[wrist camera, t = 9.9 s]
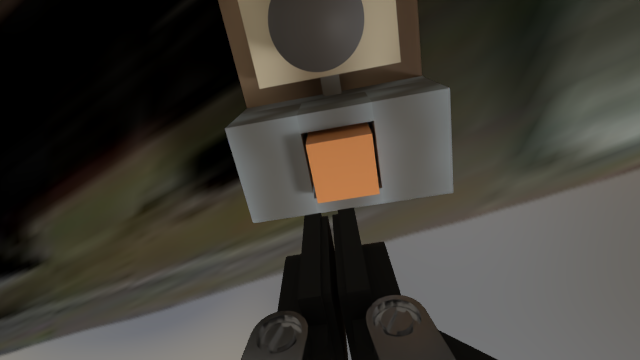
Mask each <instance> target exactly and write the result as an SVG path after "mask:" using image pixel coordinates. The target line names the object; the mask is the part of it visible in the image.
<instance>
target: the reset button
mask: <svg viewBox="0 0 640 360" xmlns="http://www.w3.org/2000/svg"><path fill="white" fill-rule="evenodd" d="M306 149H307V154H308V159H309V164H310V168H311V173H312V178H313V183H314V187H315V192H316V197H317V202H318V203H325V202H331V201H337V200H344V199H350V198H357V197H363V196H370V195H376V194H380V192H379V184H378V176H377V168H376V161H375V153H374V145H373V137H372V132H371V130H370V128H369V126H368V124H367V122H364V123H358V124H352V125H347V126H341V127H335V128H330V129H324V130H318V131H312V132H308V136H307V141H306Z"/></svg>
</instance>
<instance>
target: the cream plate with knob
mask: <svg viewBox="0 0 640 360" xmlns="http://www.w3.org/2000/svg"><path fill="white" fill-rule="evenodd" d="M238 4H239V8H240V12H241V16H242V20H243V24H244V28H245V32H246V36H247V40H248V44H249V48H250V52H251V57H252V61H253V65H254V69H255V73H256V77H257V81H258V85H259V89H262V88H267V87H273V86H278V85H283V84H288V83H294V82H299V81H304V80H310V79H315V78H320V77H325V76H331V75H336V74H341V73H347V72H352V71H357V70H362V69H368V68H373V67H378V66H384V65H389V64H394V63H399V62H401V58H400V46H399V34H398V23H397V11H396V0H238Z"/></svg>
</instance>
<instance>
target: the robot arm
mask: <svg viewBox="0 0 640 360" xmlns="http://www.w3.org/2000/svg"><path fill="white" fill-rule="evenodd" d="M332 216H333V230H334V244H335V249H334V244H333V239H332V234H331V229H330V224H329V219H328V216H323V217H322V215H321V213H316V214H310V215H305V217H304V229H303V241H302V253H301V254H300V255H293V256H287V257H286V260H285V266H284V272H283V279H282V285H281V292H280V298H279V306H278V311H277V312H276V313H273V314H270V315H268V316H267V317H265V318H264V319H262V320H261V321H260V322H259V323H258V324H257V325H256V326H255V328H254V329H253V331H252V333H251V335H250V338H249V340H248V343H247V345H246V348H245V350H244V353H243V355H242V358H241V360H348V352H347V342H346V335H347V339H348V344H349V348H350V354H351V359H352V360H497V359H495V358H493V357H491V356H489V355H487V354H485V353H483V352H481V351H479V350H477V349H475V348H473V347H471V346H469V345H467V344H465V343H463V342H461V341H459V340H457V339H455V338H453V337H451V336H449V335H447V334H445V333H443V332H441V331H439V330H438V329H437V328H436V326H435V324H434V323H433V321H432V319H431V318H430V316H429V314H428V313H427V311H426V309H425V308H424V307H423V306H422V305H421V304H420V303H419V302H417V301H416V300H414V299H412V298H410V297H407V296H403V295H401V294H400V290H399V287H398V284H397V281H396V278H395V275H394V271H393V268H392V265H391V262H390V259H389V256H388V252H387V249H386V246H385V243H384V242H377V243H371V244H364V245H361V241H360V236H359V231H358V226H357V221H356V216H355V211H354V207H352V208H346V209H340V210H338V214H336V215H332Z"/></svg>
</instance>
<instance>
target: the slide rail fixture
mask: <svg viewBox="0 0 640 360" xmlns="http://www.w3.org/2000/svg"><path fill="white" fill-rule="evenodd" d="M218 2H219V6H220V10H221V13H222V17H223V21H224V24H225V28H226V32H227V36H228V39H229V43H230V47H231V50H232V54H233V58H234V62H235V65H236V69H237V73H238V77H239V80H240V84H241V88H242V91H243V95H244V99H245V103H246V106H247V109H246V110H245V111H244V112H242V113H241V114H240V115H239V116H238V117H237V118H236V119H235V120H234V121H232V122H231V123H230V124H229V125H228V126H227V127H226V128H225V131H226V135H227V138H228V141H229V144H230V148H231V151H232V154H233V158H234V161H235V164H236V168H237V171H238V174H239V178H240V181H241V184H242V187H243V191H244V194H245V197H246V201H247V204H248V207H249V211H250V214H251V217H252V221H253V223H257V222H264V221H270V220H277V219H284V218H290V217H297V216H303V215H310V214H316V213H323V212H330V211H336V210H340V209H346V208H352V207H354V208H356V207H362V206H369V205H375V204H382V203H389V202H395V201H402V200H408V199H415V198H421V197H428V196H435V195H441V194H448V193H453V169H452V137H451V105H450V88H449V87H447V86H444V85H442V84H440V83H437V82H435V81H433V80H430V79H428V78H426V77H423V76H422V67H421V51H420V35H419V19H418V3H417V0H396V11H397V23H398V34H399V46H400V58H401V62H399V63H394V64H389V65H384V66H378V67H373V68H368V69H362V70H357V71H352V72H347V73H341V74H336V75H331V76H325V77H320V78H315V79H310V80H304V81H299V82H294V83H288V84H283V85H278V86H273V87H267V88H262V89H259V85H258V81H257V77H256V73H255V69H254V65H253V61H252V57H251V52H250V48H249V44H248V40H247V36H246V32H245V28H244V24H243V20H242V16H241V12H240V8H239V4H238V0H218ZM364 122H367V124H368V126H369V128H370V130H371V132H372V137H373V145H374V153H375V161H376V168H377V176H378V184H379V192H380V194H376V195H370V196H363V197H357V198H350V199H344V200H337V201H331V202H325V203H318V202H317V197H316V192H315V187H314V183H313V178H312V173H311V168H310V164H309V159H308V154H307V149H306V141H307V136H308V132H312V131H318V130H324V129H330V128H335V127H341V126H347V125H352V124H358V123H364Z"/></svg>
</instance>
